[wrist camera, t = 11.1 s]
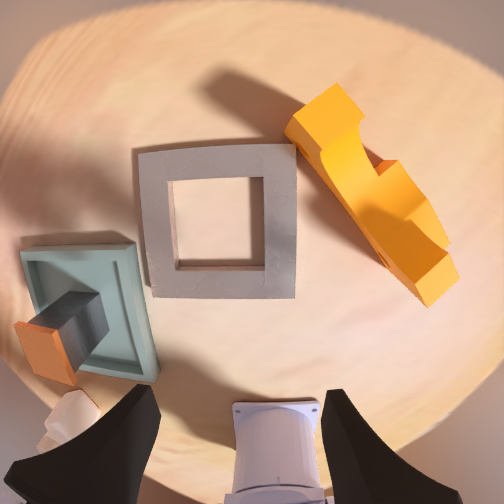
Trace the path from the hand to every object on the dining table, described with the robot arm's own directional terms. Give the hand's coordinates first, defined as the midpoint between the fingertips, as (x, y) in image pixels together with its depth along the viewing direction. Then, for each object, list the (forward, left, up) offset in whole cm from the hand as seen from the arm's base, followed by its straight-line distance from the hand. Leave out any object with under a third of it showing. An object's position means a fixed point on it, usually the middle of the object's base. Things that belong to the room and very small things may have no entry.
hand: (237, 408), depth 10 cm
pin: (-1, +14, -10) cm, 17 cm away
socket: (+5, +2, -10) cm, 12 cm away
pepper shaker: (-15, +20, -11) cm, 27 cm away
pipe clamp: (+8, -8, -11) cm, 16 cm away
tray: (-2, +14, -10) cm, 17 cm away
